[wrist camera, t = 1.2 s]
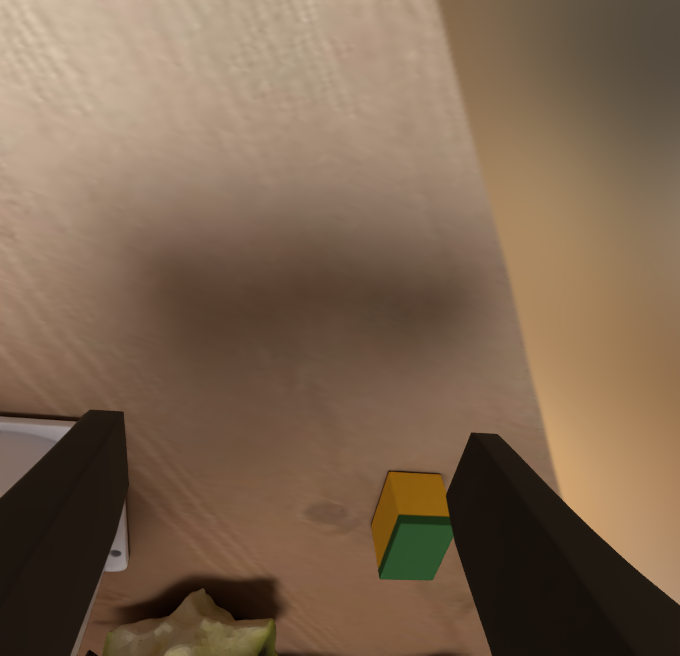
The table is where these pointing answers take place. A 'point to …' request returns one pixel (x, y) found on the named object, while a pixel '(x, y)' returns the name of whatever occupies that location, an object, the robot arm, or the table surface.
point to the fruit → (193, 633)
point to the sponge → (411, 526)
